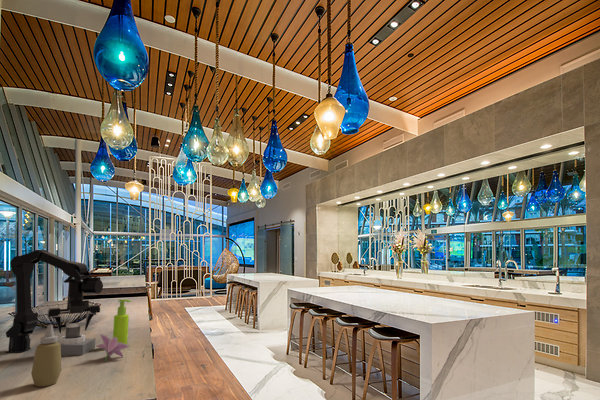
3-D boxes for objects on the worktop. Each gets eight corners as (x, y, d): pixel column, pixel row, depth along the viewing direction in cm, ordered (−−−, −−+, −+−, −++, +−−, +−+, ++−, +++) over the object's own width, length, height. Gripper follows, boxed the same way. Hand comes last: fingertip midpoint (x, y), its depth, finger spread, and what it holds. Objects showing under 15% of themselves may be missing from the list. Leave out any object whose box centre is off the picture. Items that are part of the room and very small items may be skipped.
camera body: (45, 356, 156) (47, 340, 157) (61, 348, 168) (62, 334, 169) (82, 355, 158) (83, 339, 158) (95, 347, 169) (96, 333, 170)
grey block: (70, 343, 160) (71, 325, 161) (62, 342, 162) (63, 324, 163) (82, 341, 165) (83, 323, 165) (73, 340, 167) (75, 322, 168)
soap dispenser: (123, 348, 169) (126, 300, 171) (109, 347, 170) (112, 300, 173) (132, 345, 174) (134, 299, 177) (118, 344, 176) (120, 298, 178)
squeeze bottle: (39, 380, 127) (44, 323, 129) (65, 379, 128) (69, 322, 130) (24, 389, 119) (29, 327, 121) (52, 388, 120) (56, 327, 122)
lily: (130, 362, 150) (135, 337, 156) (103, 356, 142) (109, 330, 148) (111, 368, 155) (116, 344, 161) (83, 362, 147) (90, 337, 153)
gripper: (50, 296, 154) (47, 338, 152) (103, 293, 165) (101, 332, 163) (49, 294, 163) (46, 333, 161) (98, 291, 174) (96, 327, 172)
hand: (73, 331), depth 164 cm, fingers open, 9 cm apart
